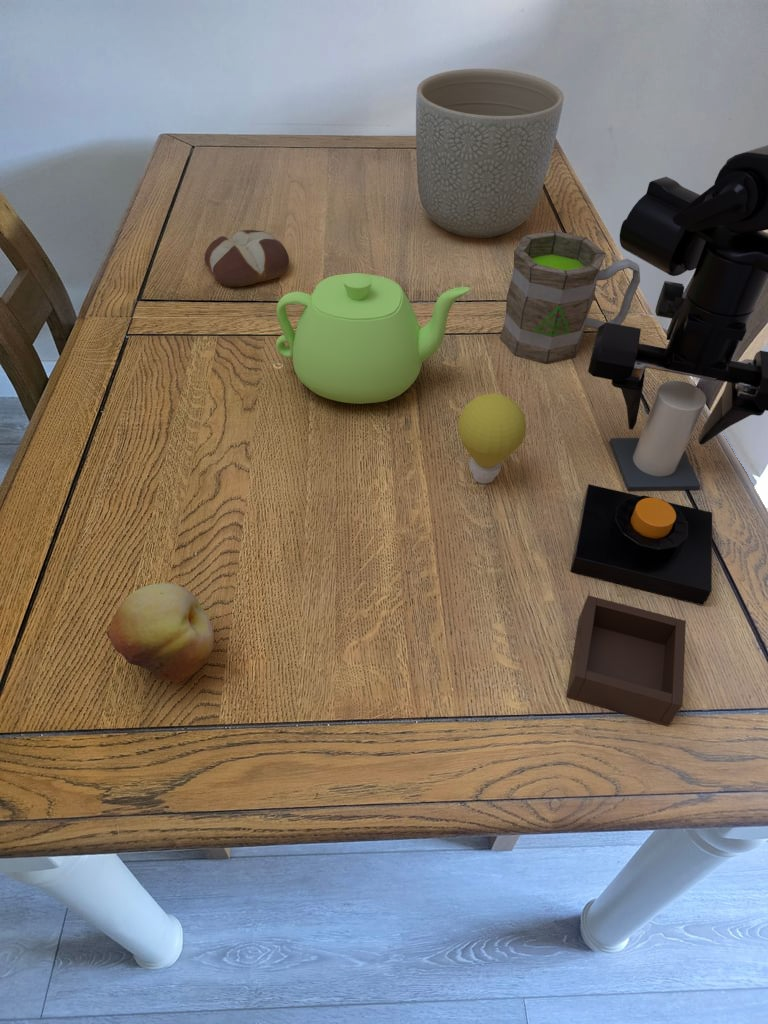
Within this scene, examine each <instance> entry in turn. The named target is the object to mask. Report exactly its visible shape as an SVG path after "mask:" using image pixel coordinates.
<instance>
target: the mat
mask: <svg viewBox="0 0 768 1024" xmlns="http://www.w3.org/2000/svg"><path fill="white" fill-rule="evenodd" d="M639 438H640V437H611V438H610V439H609V441H608V443H609V445H610V447H611V450H612V453H613V457H614V459H615V461H616V463H617V467H618V469H619V471H620V474H621V477H622V479H623V482H624V485H625V488H626V491H627V492H637V491H638V492H639V491H641V492H643V491H645V492H646V491H699V490H700V489H701V487H702V486H701V483H700V481H699V479H698V477H697V474H696V472H695V470H694V468H693V466H692V464H691V462H690V460H689V458H688V456H687V453H686V452H685V450H684V453H683V455H682V457H681V459H680V462H679V464H678V466H677V468H676V470H675V472H674V473H672V474H670V475H668V476H662V477H659V476H653V475H649V474H647V473H645V472H643V471H641V470H640V469H639V468H638V467H637V466H636V465H635V463H634V461H633V454H634V452H635V449H636V446H637V444H638V441H639Z"/></svg>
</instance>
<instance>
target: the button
mask: <svg viewBox="0 0 768 1024" xmlns="http://www.w3.org/2000/svg"><path fill="white" fill-rule="evenodd" d="M657 498H658V497H653V498H645V499H642V500H640V501H639V502H638V503H637V505H636V507H635V509H634V512H633V514H632V517H631V524H632V527H633V528H634V529H635V531H637V532H638V533H640V534H641V535H643V536H645V537H649V538H653V539H659V538H663V537H665V536H667V535H668V534H669V532H670V530H671V528H672V526H673V524H674V522H675V520H676V513H675V510H674V509H673V507H672V506H671V505H670V504H668V503H667V502H668V501H666V500H664V499H662V498H658V499H657ZM661 499H662V500H661ZM663 500H664V501H663ZM665 501H666V502H665Z"/></svg>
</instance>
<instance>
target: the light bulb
mask: <svg viewBox="0 0 768 1024" xmlns="http://www.w3.org/2000/svg"><path fill="white" fill-rule="evenodd" d="M457 433H458V436H459V439H460V440H461V442H462V444H463V447H464V448H465V450H466V452H467V453H468V454H469V456H470V460H469V470H470V472H471V473H472V477H473V480H474V481H476V483H479V484H485V485H486V484H490V483H492V482H493V481H494V480H495V478H496V477H497V476H498V475H499V474H500V472H501V468H502V462H503V461H505V460H507V459H508V457H510V456H511V455H512V454H513V452H515V451H516V450H517V449H518V448H519V447H520V446H521V445H522V444H523V441H524V439H525V436H526V434H527V425H526V417H525V414H524V412H523V410H522V409H521V407H520V406H519V404H518V403H517V402H515V400H513V399H512V398H511V397H508V396H506V395H504V394H500V393H491V392H490V393H485V394H482V395H479V396H476V397H474V398H473V399H472V400H471V401H469V402H468V403H467V404H466V405H465V407H464V408H463V409H462V411H461V413H460V416H459V417H458V422H457Z"/></svg>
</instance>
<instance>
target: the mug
mask: <svg viewBox="0 0 768 1024" xmlns="http://www.w3.org/2000/svg"><path fill="white" fill-rule="evenodd" d="M606 255H607V254H606V252H605V251H604V250H603V249H601V247H600V246H597V244H596V243H594V242H593V241H592V240H591V239H590V238H588V237H585V236H582V235H577V234H571V233H567V232H563V231H559V230H558V231H557V230H550V231H545V232H540V233H538V232H537V233H533V234H532V233H531V234H527V235H524V236H523V237H522V238H521V240H520V241H519V242H518V244H517V246H515V249H514V251H513V267H512V274H511V281H510V284H509V287H508V291H507V294H506V295H507V296H506V303H505V304H506V306H505V315H504V322H503V327H502V330H501V333H500V336H499V339H500V340H501V341H502V342H503V344H504V345H505V346H506V347H507V348H508V349H509V351H510V352H511V353H512V354H513V355H514V356H516V357H519V358H523V359H527V360H531V361H534V362H538V363H540V364H541V363H542V364H545V365H549V364H552V363H556V362H557V363H558V362H561V361H566V360H570V359H574V358H576V357H577V354H578V352H579V350H580V348H581V346H582V343H583V341H584V334H585V328H589V329H590V328H591V329H595V330H598V328H599V327H600V326H601V325H603V324H604V323H606V322H607V323H613V324H618V325H622V324H623V322H624V321H625V320H626V318H627V316H628V313H629V311H630V308H631V305H632V302H633V299H634V296H635V294H636V292H637V289H638V287H639V285H640V283H641V272H640V269H641V268H640V265H639V264H638V263H637V262H636V261H633V260H631V259H629V258H624V259H620V260H616V261H615V262H613V263H612V264H610V265H609V266H607V267H606V268H605V269H601V267H602V265H603V262H604V261H605V257H606ZM626 269H629V270H631V271H632V278H631V279H630V282H629V284H628V286H627V289H626V290H625V293H624V296H623V300H622V302H621V305H620V309H619V312H618V313H617V315H615V317H614V318H613V319H612V320H609V321H604V320H600V319H598V318H593V317H588V315H589V313H590V310H591V308H592V305H593V302H594V300H595V293H596V287H597V282H598V281H607V280H609V279H610V278H612V277H613V276H615V275H616V274H617V273H619V272H620V271H624V270H626Z"/></svg>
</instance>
